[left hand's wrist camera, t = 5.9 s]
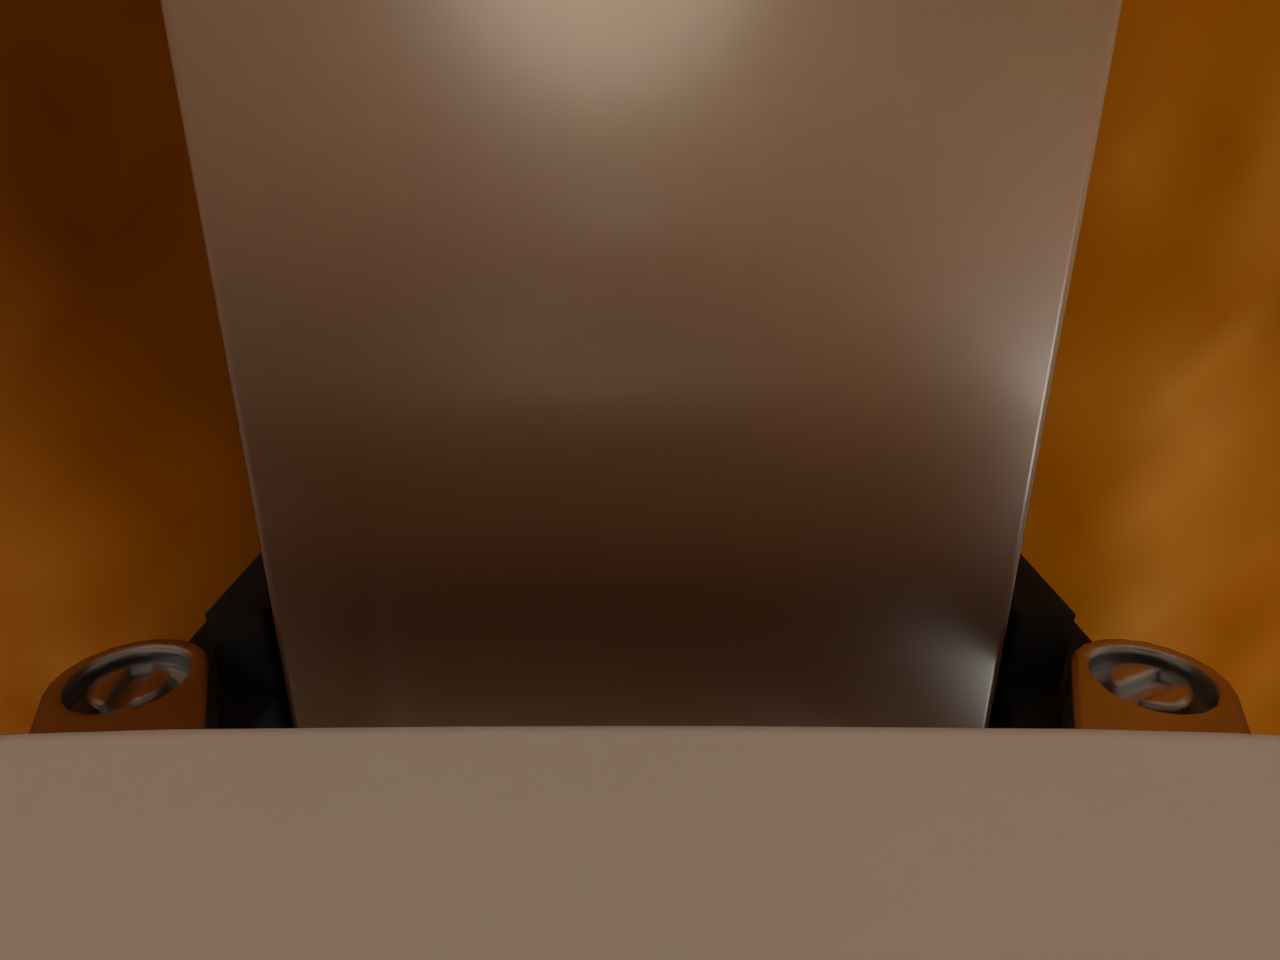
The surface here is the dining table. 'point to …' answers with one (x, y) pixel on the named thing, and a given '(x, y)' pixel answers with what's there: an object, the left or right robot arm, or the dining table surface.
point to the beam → (641, 343)
